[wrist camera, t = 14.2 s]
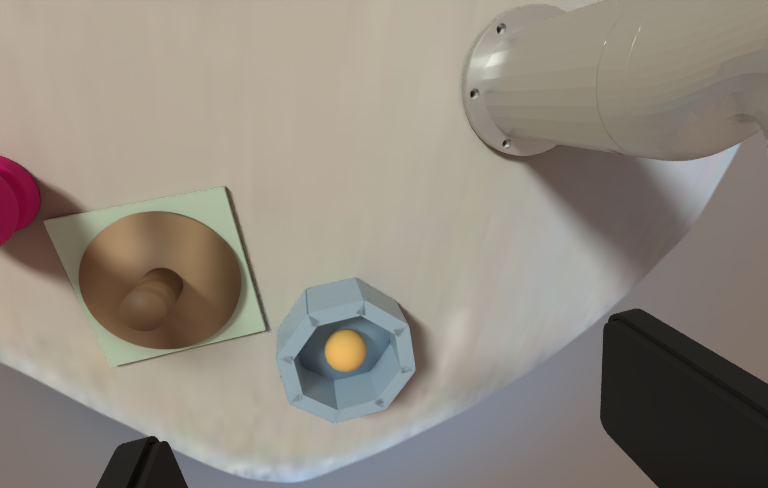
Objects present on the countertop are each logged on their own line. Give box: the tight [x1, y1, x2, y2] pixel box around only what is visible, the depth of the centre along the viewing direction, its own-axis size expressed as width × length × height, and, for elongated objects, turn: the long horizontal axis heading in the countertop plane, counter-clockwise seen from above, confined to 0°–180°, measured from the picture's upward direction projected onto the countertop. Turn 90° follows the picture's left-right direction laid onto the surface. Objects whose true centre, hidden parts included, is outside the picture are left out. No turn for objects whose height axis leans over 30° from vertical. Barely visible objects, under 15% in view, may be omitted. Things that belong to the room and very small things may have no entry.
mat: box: [43, 186, 266, 367], centre depth 37 cm, size 14×14×1 cm
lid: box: [79, 211, 241, 349], centre depth 34 cm, size 13×13×6 cm
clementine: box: [325, 329, 367, 372], centre depth 40 cm, size 4×4×4 cm
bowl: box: [276, 278, 416, 423], centre depth 40 cm, size 12×12×5 cm
